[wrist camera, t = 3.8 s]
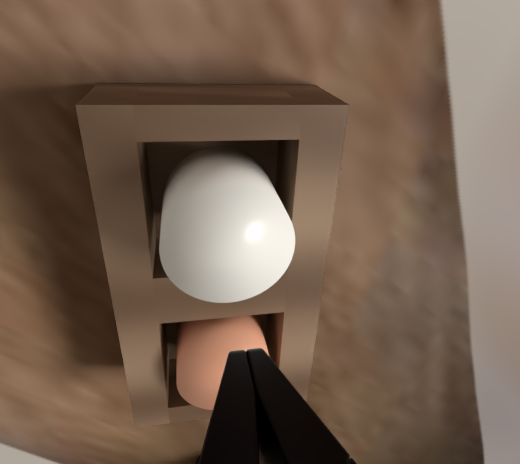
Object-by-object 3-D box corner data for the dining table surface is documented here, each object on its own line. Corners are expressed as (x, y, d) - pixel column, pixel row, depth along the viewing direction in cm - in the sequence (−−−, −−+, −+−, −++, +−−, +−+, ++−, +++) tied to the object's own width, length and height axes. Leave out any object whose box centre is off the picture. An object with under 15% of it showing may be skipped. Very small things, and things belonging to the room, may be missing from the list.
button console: (288, 350, 25) (306, 404, 22) (141, 366, 24) (135, 427, 20) (315, 85, 17) (349, 104, 14) (97, 83, 16) (75, 104, 12)
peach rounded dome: (257, 347, 23) (270, 403, 20) (179, 355, 22) (179, 415, 19) (259, 285, 21) (274, 338, 17) (173, 292, 20) (173, 348, 17)
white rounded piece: (269, 243, 18) (290, 297, 14) (167, 249, 17) (165, 308, 14) (274, 146, 15) (300, 184, 12) (158, 148, 15) (152, 189, 11)
